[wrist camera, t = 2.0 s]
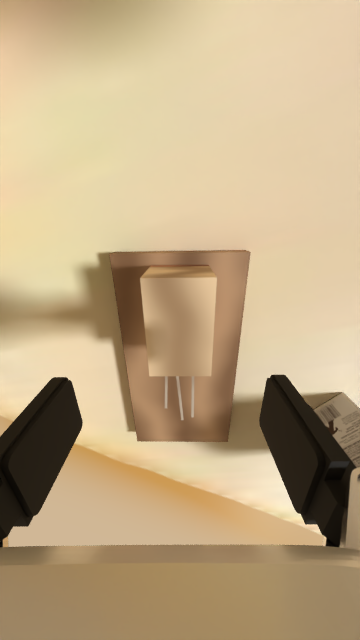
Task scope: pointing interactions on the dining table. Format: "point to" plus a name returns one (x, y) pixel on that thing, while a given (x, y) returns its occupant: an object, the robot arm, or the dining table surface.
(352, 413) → the coffee box
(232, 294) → the board
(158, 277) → the block
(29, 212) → the dining table surface
